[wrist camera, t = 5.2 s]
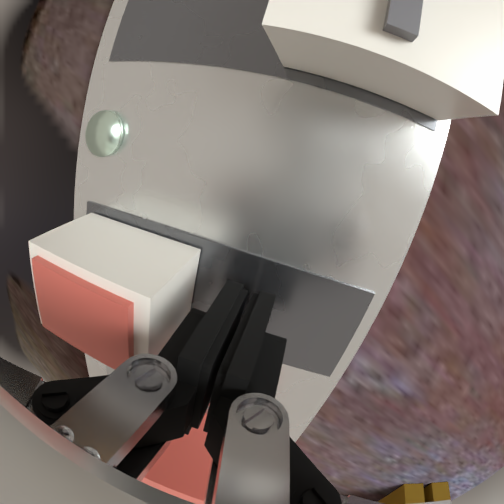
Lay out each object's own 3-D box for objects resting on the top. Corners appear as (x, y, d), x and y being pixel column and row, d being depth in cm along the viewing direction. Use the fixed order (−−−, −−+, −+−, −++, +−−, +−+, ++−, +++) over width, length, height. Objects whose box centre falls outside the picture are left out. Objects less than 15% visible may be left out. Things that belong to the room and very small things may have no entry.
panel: (158, -58, 7) (143, -71, 5) (455, -10, 5) (469, -23, 4) (107, 408, 19) (97, 420, 17) (263, 470, 17) (259, 486, 16)
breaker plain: (307, -20, 6) (296, -92, 3) (454, 31, 6) (511, -9, 2) (283, 66, 7) (257, 16, 4) (438, 121, 7) (508, 114, 3)
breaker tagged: (91, 212, 11) (21, 244, 7) (200, 249, 10) (145, 304, 7) (91, 284, 12) (36, 327, 9) (187, 326, 12) (143, 390, 8)
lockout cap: (113, 372, 14) (64, 431, 10) (258, 430, 14) (234, 510, 9) (122, 429, 17) (91, 477, 13) (232, 474, 16) (213, 530, 12)
